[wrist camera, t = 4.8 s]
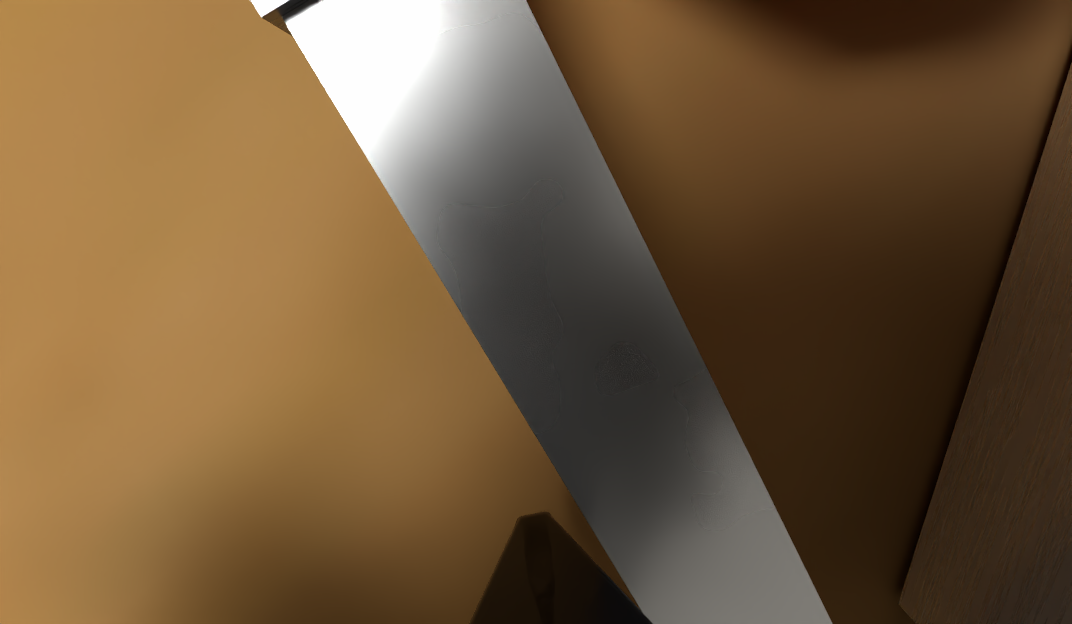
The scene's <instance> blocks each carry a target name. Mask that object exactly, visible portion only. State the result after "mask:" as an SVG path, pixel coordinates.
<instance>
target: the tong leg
mask: <svg viewBox="0 0 1072 624" xmlns="http://www.w3.org/2000/svg"><path fill="white" fill-rule="evenodd" d="M251 1H252V3H253V5H254V6H255V8H256V10H257V11H258V13H259V14H260V16H261V17H262V18H263V19H265V20H267V21H268V22H270V23H272V24H273V25H275V26H277V27H278V28H280V29H281V30H283V31H285V32H286V33H288V34H290V35H291V36H293V37H294V38H295V40H296V41H297V43H298V45H299V46H300V48H301V50H302V51H303V53H304V55H305V56H306V58H307V60H308V61H309V63H310V64H311V66H312V68H313V69H314V71H315V73H316V74H317V76H318V78H319V79H320V81H321V83H322V84H323V86H324V88H325V89H326V91H327V93H328V94H329V96H330V97H331V99H332V101H333V102H334V104H335V106H336V107H337V109H338V111H339V112H340V114H341V116H342V117H343V119H344V121H345V122H346V124H347V126H348V127H349V129H350V130H351V132H352V134H353V135H354V137H355V139H356V140H357V142H358V144H359V145H360V147H361V149H362V150H363V152H364V154H365V155H366V157H367V159H368V160H369V162H370V163H371V165H372V167H373V168H374V170H375V172H376V173H377V175H378V177H379V178H380V180H381V182H382V183H383V185H384V187H385V188H386V190H387V192H388V193H389V195H390V196H391V198H392V200H393V201H394V203H395V205H396V206H397V208H398V210H399V211H400V213H401V215H402V216H403V218H404V220H405V221H406V223H407V225H408V226H409V228H410V229H411V231H412V233H413V234H414V236H415V238H416V239H417V241H418V243H419V244H420V246H421V248H422V249H423V251H424V253H425V254H426V256H427V258H428V259H429V261H430V262H431V264H432V266H433V267H434V269H435V271H436V272H437V274H438V276H439V277H440V279H441V281H442V282H443V284H444V286H445V287H446V289H447V291H448V292H449V294H450V295H451V297H452V299H453V300H454V302H455V304H456V305H457V307H458V309H459V310H460V312H461V314H462V315H463V317H464V319H465V320H466V322H467V324H468V325H469V327H470V328H471V330H472V332H473V333H474V335H475V337H476V338H477V340H478V342H479V343H480V345H481V347H482V348H483V350H484V352H485V353H486V355H487V357H488V358H489V360H490V361H491V363H492V365H493V366H494V368H495V370H496V371H497V373H498V375H499V376H500V378H501V380H502V381H503V383H504V385H505V386H506V388H507V390H508V391H509V393H510V394H511V396H512V398H513V399H514V401H515V403H516V404H517V406H518V408H519V409H520V411H521V413H522V414H523V416H524V418H525V419H526V421H527V423H528V424H529V426H530V427H531V429H532V431H533V432H534V434H535V436H536V437H537V439H538V441H539V442H540V444H541V446H542V447H543V449H544V451H545V452H546V454H547V456H548V457H549V459H550V460H551V462H552V464H553V465H554V467H555V469H556V470H557V472H558V474H559V475H560V477H561V479H562V480H563V482H564V484H565V485H566V487H567V488H568V490H569V492H570V493H571V495H572V497H573V498H574V500H575V502H576V503H577V505H578V507H579V508H580V510H581V512H582V513H583V515H584V517H585V518H586V520H587V521H588V523H589V525H590V526H591V528H592V530H593V531H594V533H595V535H596V536H597V538H598V540H599V541H600V543H601V545H602V546H603V548H604V550H605V551H606V553H607V554H608V556H609V558H610V559H611V561H612V563H613V564H614V566H615V568H616V569H617V571H618V573H619V574H620V576H621V578H622V579H623V581H624V583H625V584H626V586H627V587H628V589H629V591H630V592H631V594H632V596H633V597H634V599H635V601H636V602H637V604H638V606H639V607H640V609H641V611H642V612H643V614H644V615H645V616H646V617H647V618H648V619H649V620H650V621H651V622H652V623H653V624H832V622H831V620H830V618H829V616H828V613H827V611H826V609H825V607H824V605H823V603H822V601H821V599H820V597H819V595H818V593H817V591H816V589H815V587H814V585H813V583H812V581H811V579H810V577H809V575H808V573H807V571H806V569H805V567H804V565H803V563H802V561H801V559H800V557H799V555H798V552H797V550H796V548H795V546H794V544H793V542H792V540H791V538H790V536H789V534H788V532H787V530H786V528H785V526H784V524H783V522H782V520H781V518H780V516H779V514H778V512H777V510H776V508H775V506H774V504H773V502H772V500H771V498H770V496H769V494H768V491H767V489H766V487H765V485H764V483H763V481H762V479H761V477H760V475H759V473H758V471H757V469H756V467H755V465H754V463H753V461H752V459H751V457H750V455H749V453H748V451H747V449H746V447H745V445H744V443H743V441H742V439H741V437H740V435H739V433H738V430H737V428H736V426H735V424H734V422H733V420H732V418H731V416H730V414H729V412H728V410H727V408H726V406H725V404H724V402H723V400H722V398H721V396H720V394H719V392H718V390H717V388H716V386H715V384H714V382H713V380H712V378H711V376H710V374H709V372H708V369H707V367H706V365H705V363H704V361H703V359H702V357H701V355H700V353H699V351H698V349H697V347H696V345H695V343H694V341H693V339H692V337H691V335H690V333H689V331H688V329H687V327H686V325H685V323H684V321H683V319H682V317H681V315H680V313H679V311H678V308H677V306H676V304H675V302H674V300H673V298H672V296H671V294H670V292H669V290H668V288H667V286H666V284H665V282H664V280H663V278H662V276H661V274H660V272H659V270H658V268H657V266H656V264H655V262H654V260H653V258H652V256H651V254H650V252H649V249H648V247H647V245H646V243H645V241H644V239H643V237H642V235H641V233H640V231H639V229H638V227H637V225H636V223H635V221H634V219H633V217H632V215H631V213H630V211H629V209H628V207H627V205H626V203H625V201H624V199H623V197H622V195H621V193H620V191H619V188H618V186H617V184H616V182H615V180H614V178H613V176H612V174H611V172H610V170H609V168H608V166H607V164H606V162H605V160H604V158H603V156H602V154H601V152H600V150H599V148H598V146H597V144H596V142H595V140H594V138H593V136H592V134H591V132H590V130H589V127H588V125H587V123H586V121H585V119H584V117H583V115H582V113H581V111H580V109H579V107H578V105H577V103H576V101H575V99H574V97H573V95H572V93H571V91H570V89H569V87H568V85H567V83H566V81H565V79H564V77H563V75H562V73H561V71H560V69H559V66H558V64H557V62H556V60H555V58H554V56H553V54H552V52H551V50H550V48H549V46H548V44H547V42H546V40H545V38H544V36H543V34H542V32H541V30H540V28H539V26H538V24H537V22H536V20H535V18H534V16H533V14H532V12H531V10H530V8H529V5H528V3H527V1H526V0H251Z"/></svg>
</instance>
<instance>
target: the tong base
mask: <svg viewBox="0 0 1072 624" xmlns="http://www.w3.org/2000/svg"><path fill="white" fill-rule="evenodd" d="M898 604H899V605H900V606H901V607H902V608H903V610H904V611H905V612H906V613H907V614H908V615H909V616H910V617H911V618H912V620H913V621H914V622H915V623H916V624H1072V64H1071V67H1070V70H1069V73H1068V76H1067V79H1066V82H1065V85H1064V89H1063V92H1062V95H1061V98H1060V101H1059V104H1058V107H1057V110H1056V113H1055V117H1054V120H1053V123H1052V126H1051V129H1050V132H1049V135H1048V138H1047V141H1046V145H1045V148H1044V151H1043V154H1042V157H1041V160H1040V163H1039V166H1038V169H1037V173H1036V176H1035V179H1034V182H1033V185H1032V188H1031V191H1030V194H1029V197H1028V201H1027V204H1026V207H1025V210H1024V213H1023V216H1022V219H1021V222H1020V225H1019V229H1018V232H1017V235H1016V238H1015V241H1014V244H1013V247H1012V250H1011V253H1010V257H1009V260H1008V263H1007V266H1006V269H1005V272H1004V275H1003V278H1002V281H1001V285H1000V288H999V291H998V294H997V297H996V300H995V303H994V306H993V310H992V313H991V316H990V319H989V322H988V325H987V328H986V331H985V334H984V338H983V341H982V344H981V347H980V350H979V353H978V356H977V359H976V362H975V366H974V369H973V372H972V375H971V378H970V381H969V384H968V387H967V390H966V394H965V397H964V400H963V403H962V406H961V409H960V412H959V415H958V418H957V422H956V425H955V428H954V431H953V434H952V437H951V440H950V443H949V446H948V450H947V453H946V456H945V459H944V462H943V465H942V468H941V471H940V474H939V478H938V481H937V484H936V487H935V490H934V493H933V496H932V499H931V502H930V506H929V509H928V512H927V515H926V518H925V521H924V524H923V527H922V530H921V534H920V537H919V540H918V543H917V546H916V549H915V552H914V555H913V558H912V562H911V565H910V568H909V571H908V574H907V577H906V580H905V583H904V586H903V590H902V593H901V596H900V599H899V602H898Z"/></svg>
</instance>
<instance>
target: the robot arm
mask: <svg viewBox="0 0 1072 624" xmlns="http://www.w3.org/2000/svg"><path fill="white" fill-rule="evenodd" d="M469 624H653V623H652V622H651V621H650V620H649V619H648V618H647V617H646V616H645V615H644V614H643V613H642V612H641V610H640V609H639V608H638V607H637V606H636V605H635V604H634V603H633V602H632V601H631V600H630V599H629V598H628V597H627V596H626V595H625V593H624V592H623V591H622V590H621V589H620V588H619V587H618V586H617V585H616V584H615V583H614V582H613V581H612V580H611V579H610V578H609V577H608V575H607V574H606V573H605V572H604V571H603V570H602V569H601V568H600V567H599V566H598V565H597V564H596V563H595V562H594V561H593V560H592V559H591V557H590V556H589V555H588V554H587V553H586V552H585V551H584V550H583V549H582V548H581V547H580V546H579V545H578V544H577V543H576V542H575V541H574V539H573V538H572V537H571V536H570V535H569V534H568V533H567V532H566V531H565V530H564V529H563V528H562V527H561V526H560V525H559V524H558V523H557V521H556V520H555V519H554V518H553V517H552V516H551V514H550V513H549V512H547V511H545V512H539V513H535V514H530V515H525V516H521V517H519V518H518V519H517V522H516V525H515V527H514V529H513V531H512V533H511V535H510V537H509V540H508V542H507V544H506V546H505V548H504V550H503V552H502V554H501V557H500V559H499V561H498V563H497V565H496V567H495V569H494V571H493V574H492V576H491V578H490V580H489V582H488V584H487V586H486V589H485V591H484V593H483V595H482V597H481V599H480V601H479V603H478V606H477V608H476V610H475V612H474V614H473V616H472V618H471V620H470V623H469Z"/></svg>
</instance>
